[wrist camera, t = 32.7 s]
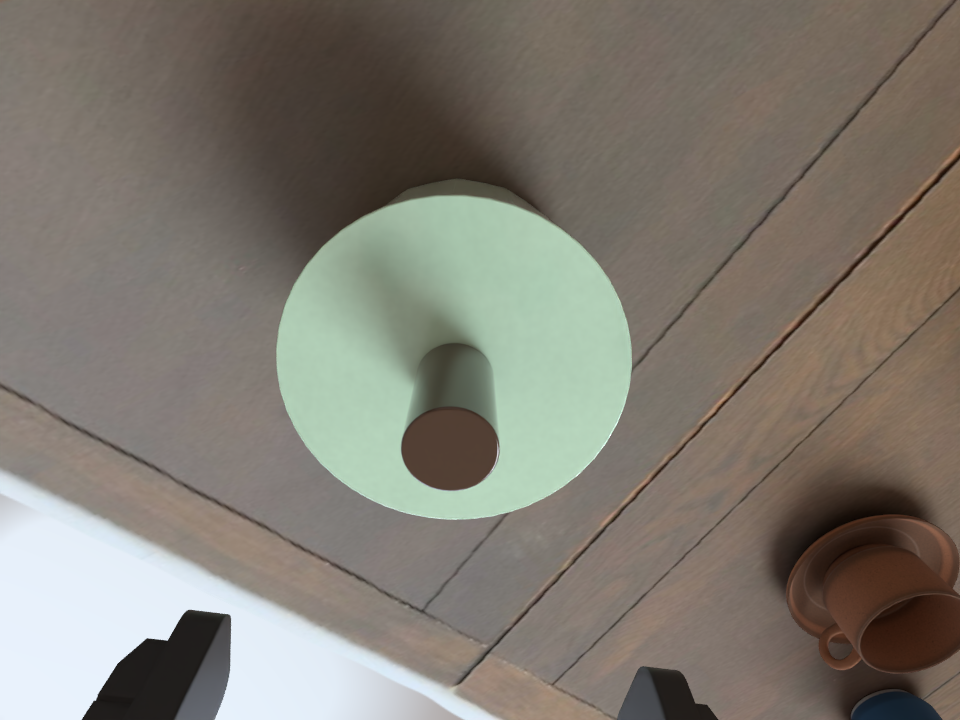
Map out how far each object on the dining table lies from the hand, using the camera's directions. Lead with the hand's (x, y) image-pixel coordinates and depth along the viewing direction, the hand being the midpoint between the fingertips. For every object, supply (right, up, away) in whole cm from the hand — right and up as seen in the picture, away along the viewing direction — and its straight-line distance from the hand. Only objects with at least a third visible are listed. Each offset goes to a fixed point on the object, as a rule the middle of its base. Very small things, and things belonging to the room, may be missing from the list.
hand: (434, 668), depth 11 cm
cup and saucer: (+29, -9, +31) cm, 44 cm away
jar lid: (0, +6, +12) cm, 14 cm away
